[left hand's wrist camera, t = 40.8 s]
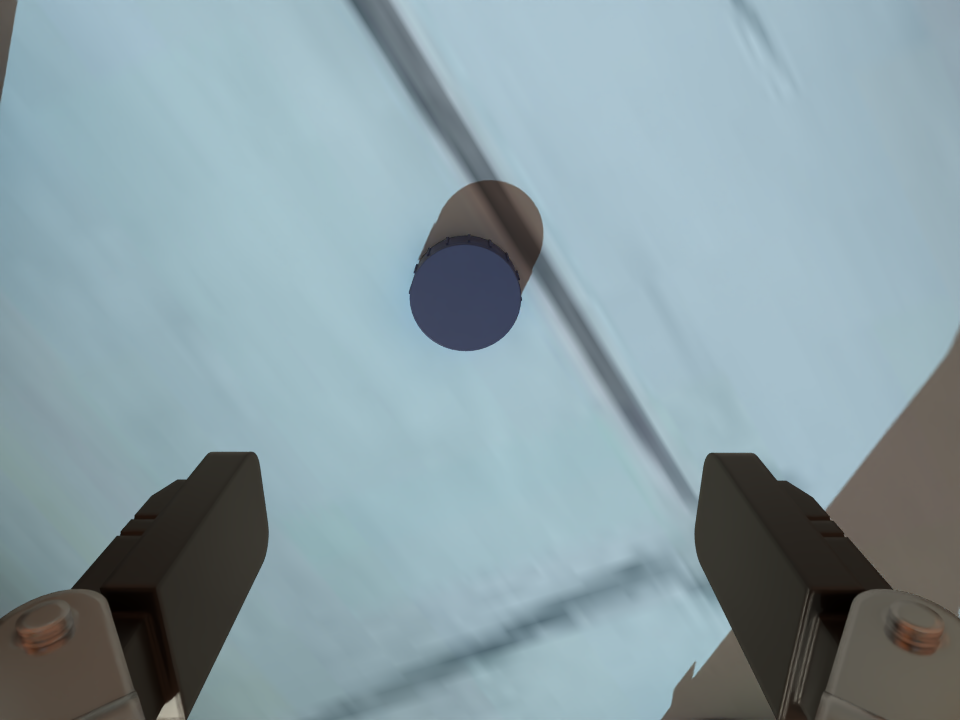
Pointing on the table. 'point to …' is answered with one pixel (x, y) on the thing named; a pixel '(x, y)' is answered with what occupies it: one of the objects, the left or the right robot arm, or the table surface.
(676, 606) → the table surface
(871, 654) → the left robot arm
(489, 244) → the cap
